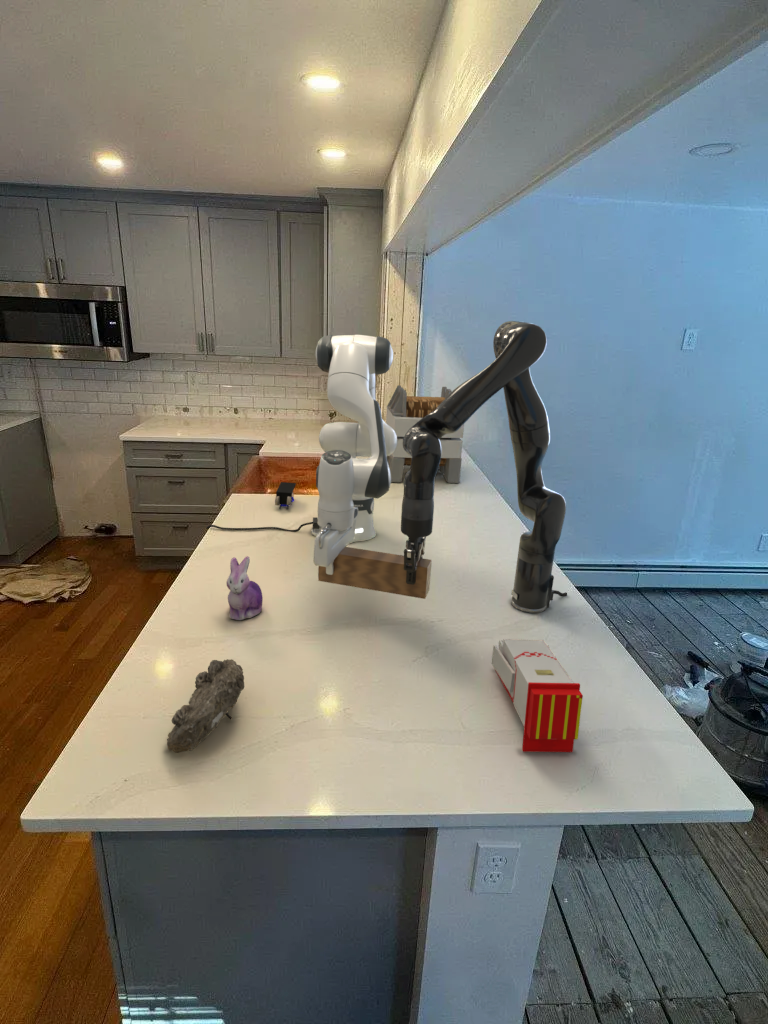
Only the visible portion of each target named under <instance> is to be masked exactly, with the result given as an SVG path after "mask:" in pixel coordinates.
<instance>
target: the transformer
mask: <svg viewBox="0 0 768 1024" xmlns="http://www.w3.org/2000/svg"><path fill="white" fill-rule="evenodd" d="M452 391H453V390H452V389H451V388H447V386H442V387H441V392H440V393H441V394H440V396H415V395H414V396H413V395H412V396H411V395H407V394H408V393H407V390H406V389H404V388H403V387H402V385H399V384H398V385H397V386H396V388H395V390H394V392H393V394H392V395H391V398H390V400H389V402H388V404H387V405H386V413H385V414H386V415H385V423H386V424H388V425H389V426H390V427H392V428H393V430H394V431H395V433H396V435H397V446H396V449H395V450H394V452H393V453H392V454H391V455H390V456H387V462H388V465H389V468H390V472H391V483H402V482H403V475H404V469H405V466H406V467H407V466H410V467H411V462H412V457H411V456H409V455H408V454H407V453H406V452H405V450H404V448H403V438H404V436H405V434H406V433H407V431H408V430H409V429H410V428H411V427H412V426H413V425H414V424H415V423H417V422H418V421H419V420H421V419H422V418H424V417H425V416H426V415H428V414H429V413H431V412H433V411H434V410H435V409H436V408H437V407H438V406H439V405H440V403H441V402H442V401H443V400H444V399H445V398H446V397H447V396H448V395H449V394H450V393H451V392H452ZM464 429H465V423H464V424H463V425H462V426H461V427H460V428H459V429H458V430H457V431H456V432H455V433H451V434H445V435H444V436H443V437H441V438H440V439H439V440H440V442H441V448H442V453H441V460H440V463H439V467H438V470H439V473H440V474H441V475H443V478H444V479H445V481H446V482H447V483H449V484H455V483H456V484H459V483H461V472H462V461H463V460H462V453H463V442H464V441H463V440H462V439H463V438H464V431H465V430H464Z"/></svg>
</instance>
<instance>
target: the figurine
mask: <svg viewBox="0 0 768 1024" xmlns="http://www.w3.org/2000/svg"><path fill="white" fill-rule="evenodd" d="M250 559H251V558H250V556H248V555H246V556H245V557H244V558H243V559H242V561H240V563H239V561H238V559H237V557H235V556H234V557H231V559H230V565H229V567H230V573H229V575H228V577H227V580H226V587H227V588H228V590H229V592H228V594H227V602H228V606H229V619H232V620H235V621H243V620H245V619H251V618H254V617H255V616H256V615H258V614H260V613H261V612H262V609H263V598H264V597H263V592H262V589H261V586H260V585H259V584H258V583H257V582H255V581H253V580H250V577H249V576H248V574H247V572H248V569H249V566H250V562H251V561H250Z"/></svg>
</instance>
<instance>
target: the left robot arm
mask: <svg viewBox="0 0 768 1024" xmlns="http://www.w3.org/2000/svg"><path fill="white" fill-rule="evenodd" d="M315 361H316V363H317V367H318V368H319V369H320V370H321V371H322V372H325V373H327V383H326V384H327V385H326V394H327V400H328V402H329V404H330V406H331V407H332V408H333V410H335V411H336V412H337V413H339V414H340V415H342V416H344V417H345V418H349V419H351V420H353V421H355V422H351V421H350V422H348V421H335V422H329V423H325V424H324V425H323V426H322V427H321V429H320V431H319V435H318V442H319V446H320V448H321V449H322V450H323V452H324V453H322V455H320V459H319V464H318V465H317V467H316V471H315V487H316V488H317V492H318V496H319V497H318V502H317V517H312V521H310V522H304V523H302V524H300V525H299V527H298V528H296V529H288V528H282V527H278V526H262V527H261V526H260V527H223V526H218V525H215V524H210V525H208V526H206V528H205V529H206V530H208V529H210V528H216V529H219V530H223V531H258V530H278V531H283V532H292V533H293V532H294V533H296V532H299V531H301V528H303V527H305V526H309V525H312V528H311V530H310V533H311V536H315V539H314V547H313V563H314V565H315V566H323V567H326V574H329V575H332V574H333V573H334V572H335V566H333V562H334V559H335V558H336V557H337V556H338V554H339V553H340V552H341V551H342V550H343V548H344V547H348V545H349V544H352V543H357V542H365V541H368V540H372V539H373V538H375V537H376V535H377V532H376V528H375V523H374V513H373V512H374V509H375V499H380V498H382V496H384V495H386V494H387V493H388V492H389V491H390V488H391V485H392V482H391V472H390V467H389V465H388V462H387V456H390V455H391V454H392V453H393V452H394V450H395V449H396V446H397V435H396V433H395V431H394V430H393V428H392V427H390V426H389V425H388V424H387V423H386V421H385V420H384V419H383V417H382V410H381V406H380V403H379V401H378V400H377V399H376V398H377V397H376V376H378V375H384V374H386V373H387V372H388V371H390V369H391V366H392V364H393V361H394V350H393V347H392V345H391V341H390V340H389V339H388V338H386V337H384V336H379V335H377V336H372V335H366V334H342V335H341V334H340V335H333V334H329V335H324V336H321V338H319V340H318V341H317V345H316V348H315ZM359 457H361V458H359ZM362 457H364V458H362Z"/></svg>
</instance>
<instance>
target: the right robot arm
mask: <svg viewBox="0 0 768 1024" xmlns="http://www.w3.org/2000/svg"><path fill="white" fill-rule="evenodd" d="M547 340H548V339H547V335H546V332H545V330H544V329H543V328H542V327H541V326H540V325H538V324H535V323H532V322H527V321H519V320H508V321H505V322H503V323H501V324H500V325H499V326H498V327H497V329H496V330H495V333H494V335H493V344H492V346H493V353H494V356H495V359H494V360H493V361H492V362H491V363H490V364H489V365H488V366H486V367H485V368H483V369H482V370H481V371H479V372H477V373H476V374H475V375H473V376H472V377H470V378H468V379H467V380H465V381H464V382H462V383H461V384H459V385H457V386H456V387H455V388H454V389H453V390H451V391H452V392H451V393H450V394H449V395H448V396H447V397H446V398H445V399H444V400H443V401H442V402H441V403H440V405H439V406H438V407H437V408H436V409H435V410H434V411H433V412H431V413H429V414H428V415H426V416H425V417H424V418H422V419H421V420H419V421H418V422H417V423H415V424H414V425H413V426H412V427H411V428H410V429H409V430H408V431H407V433H406V434H405V436H404V438H403V448H404V450H405V452H406V453H407V454H408V455H409V456H411V457H412V462H411V466H410V469H409V470H407V471H406V472H405V475H404V480H403V481H404V482H403V498H402V503H401V513H400V515H401V516H400V532H401V533H402V534H403V535H404V536H407V537H408V539H407V540H406V541H405V548H404V550H403V556H404V570H407V573H406V583H407V584H412V585H414V584H415V582H416V570H417V562H418V561H419V560H420V558H423V559H424V557H423V556H424V555H425V549H426V540H427V537H429V536H431V534H432V533H433V527H434V526H433V524H434V512H435V511H434V510H435V499H434V496H435V483H436V482H435V481H436V480H435V479H436V477H437V474H438V470H439V469H438V467H439V463H440V460H441V453H442V448H441V442H440V440H439V439H440V438H441V437H443V436H444V435H445V434H451V433H455V432H456V431H457V430H458V429H459V428H460V427H461V426H462V425H463V424H464V425H465V423H466V422H467V421H468V420H470V418H471V417H472V416H473V415H475V413H477V411H478V410H479V409H480V408H481V407H482V406H483V405H484V404H485V403H487V402H488V400H490V399H491V398H492V397H493V396H494V395H496V394H497V393H498V392H500V391H501V390H502V389H503V395H504V401H505V406H506V414H507V418H508V427H509V433H510V440H511V444H512V445H511V446H512V450H513V457H514V465H515V473H516V490H517V491H516V492H517V505H518V510H519V512H520V513H521V515H522V516H523V517H525V518H526V519H528V520H529V521H532V522H533V525H532V530H531V531H530V530H529V531H526V532H523V533H522V534H520V537H519V543H518V552H517V560H516V566H515V574H514V580H513V581H514V582H513V588H512V589H511V593H510V595H511V600H510V604H511V605H512V606H513V608H515V609H516V610H519V611H521V612H524V613H529V614H538V613H543V612H545V611H546V610H547V609H549V608H550V604H551V601H553V600H554V595H558V596H560V597H562V598H563V597H567V596H568V592H561V591H559V590H554V589H553V585H554V579H555V576H554V575H553V574H552V571H553V565H554V559H555V554H556V553H555V552H556V548H557V545H558V543H559V541H560V538H561V536H562V531H563V526H564V523H565V517H566V511H567V502H566V499H565V497H564V496H563V495H562V494H560V493H558V492H556V491H554V490H552V489H549V488H547V487H546V486H545V485H546V484H545V482H544V478H543V477H544V476H543V468H542V466H543V461H544V459H545V457H546V455H547V453H548V450H549V447H550V443H551V430H550V422H549V417H548V413H547V410H546V407H545V404H544V402H543V400H542V398H541V396H540V394H539V393H538V390H537V388H536V386H535V384H534V381H533V379H532V378H533V377H532V376H531V368H530V367H532V366H533V365H534V364H536V363H537V362H538V361H539V360H540V358H542V356H544V353H545V351H546V348H547V343H548V341H547ZM415 557H416V558H415ZM409 564H412V565H409Z"/></svg>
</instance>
